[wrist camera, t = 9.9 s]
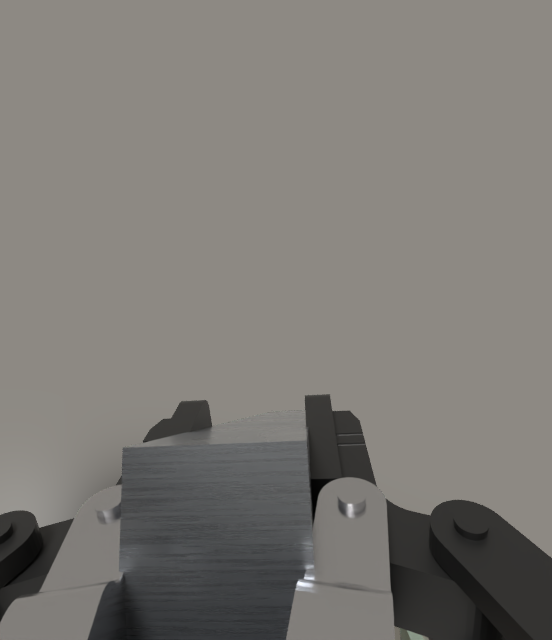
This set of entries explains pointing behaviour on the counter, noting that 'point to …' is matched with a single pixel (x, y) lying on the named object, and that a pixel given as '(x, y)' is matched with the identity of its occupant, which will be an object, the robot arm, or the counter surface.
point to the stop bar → (217, 530)
